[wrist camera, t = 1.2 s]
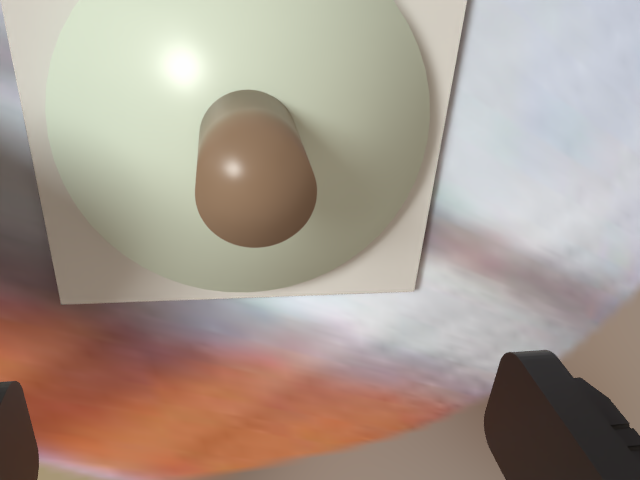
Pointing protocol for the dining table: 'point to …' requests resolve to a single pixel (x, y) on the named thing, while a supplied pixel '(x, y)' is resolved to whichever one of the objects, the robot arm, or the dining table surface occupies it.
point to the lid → (238, 132)
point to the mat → (144, 285)
